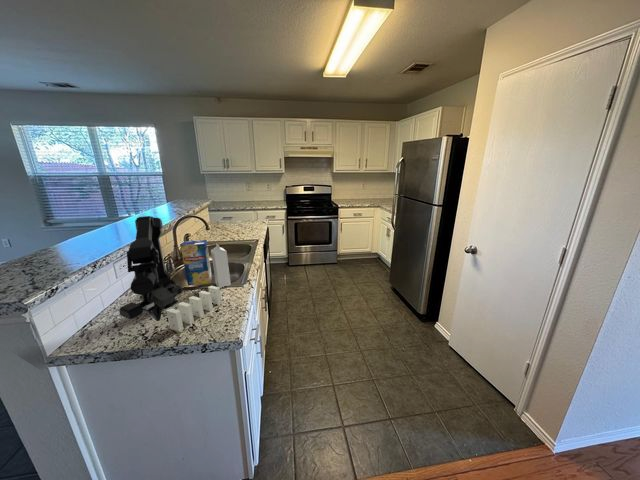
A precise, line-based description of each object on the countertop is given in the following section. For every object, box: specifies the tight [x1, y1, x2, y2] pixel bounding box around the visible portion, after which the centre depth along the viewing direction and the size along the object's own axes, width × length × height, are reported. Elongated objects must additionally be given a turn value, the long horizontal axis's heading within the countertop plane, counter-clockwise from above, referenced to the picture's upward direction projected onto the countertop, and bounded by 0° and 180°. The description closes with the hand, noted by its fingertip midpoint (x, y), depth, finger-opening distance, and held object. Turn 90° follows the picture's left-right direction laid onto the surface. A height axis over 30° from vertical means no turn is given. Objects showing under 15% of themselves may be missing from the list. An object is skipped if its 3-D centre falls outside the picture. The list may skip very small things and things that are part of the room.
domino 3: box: [188, 295, 205, 318], centre depth 106 cm, size 5×2×8 cm, turn 66°
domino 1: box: [166, 307, 184, 332], centre depth 97 cm, size 5×2×8 cm, turn 67°
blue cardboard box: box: [180, 239, 213, 287], centre depth 133 cm, size 7×11×22 cm, turn 104°
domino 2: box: [177, 301, 195, 325], centre depth 101 cm, size 5×2×8 cm, turn 66°
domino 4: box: [198, 290, 214, 312], centre depth 110 cm, size 5×2×8 cm, turn 66°
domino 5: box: [207, 285, 222, 306], centre depth 114 cm, size 5×2×8 cm, turn 66°
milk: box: [210, 243, 231, 289], centre depth 129 cm, size 6×6×22 cm
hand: (158, 320), depth 91 cm, fingers closed
